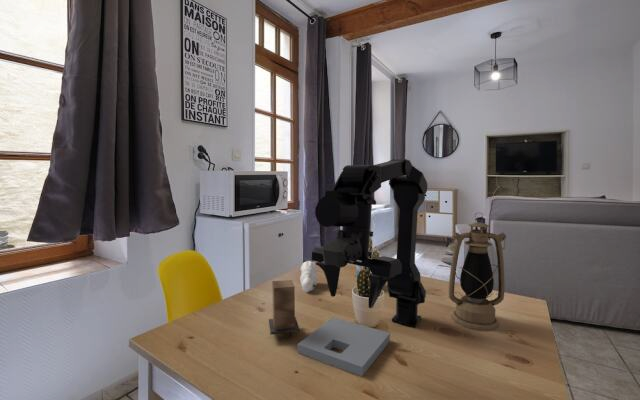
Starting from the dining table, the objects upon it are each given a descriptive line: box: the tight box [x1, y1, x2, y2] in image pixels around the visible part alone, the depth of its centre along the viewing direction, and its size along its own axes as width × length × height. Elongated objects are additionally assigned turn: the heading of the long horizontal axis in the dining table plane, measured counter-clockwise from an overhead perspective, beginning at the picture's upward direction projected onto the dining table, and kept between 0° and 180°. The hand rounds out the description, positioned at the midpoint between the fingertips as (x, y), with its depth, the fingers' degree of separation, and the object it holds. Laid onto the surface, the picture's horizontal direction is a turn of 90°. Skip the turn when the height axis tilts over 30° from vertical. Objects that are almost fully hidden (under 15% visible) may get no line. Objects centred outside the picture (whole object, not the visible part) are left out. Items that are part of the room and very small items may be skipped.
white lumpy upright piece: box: [299, 260, 319, 293], centre depth 113 cm, size 6×8×12 cm
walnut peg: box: [268, 279, 300, 338], centre depth 81 cm, size 7×7×13 cm
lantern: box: [448, 212, 507, 332], centre depth 87 cm, size 15×12×30 cm
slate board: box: [296, 316, 391, 377], centre depth 75 cm, size 16×16×2 cm
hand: (351, 301), depth 66 cm, fingers open, 9 cm apart
